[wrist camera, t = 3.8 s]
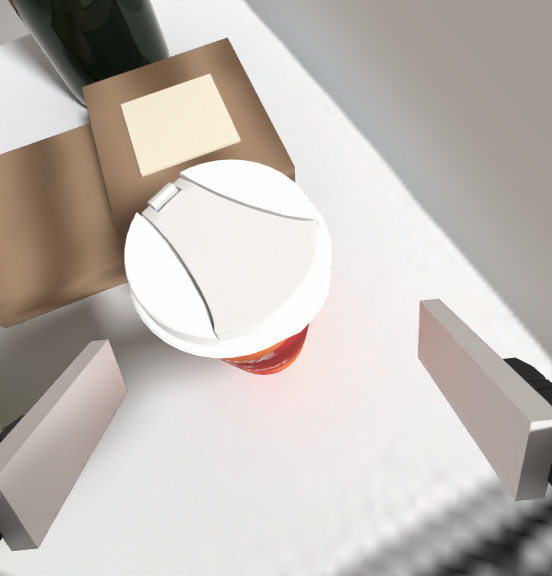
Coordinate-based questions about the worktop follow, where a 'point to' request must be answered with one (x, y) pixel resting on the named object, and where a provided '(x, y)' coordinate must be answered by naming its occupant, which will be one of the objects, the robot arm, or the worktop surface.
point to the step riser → (120, 173)
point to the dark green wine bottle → (94, 37)
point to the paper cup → (230, 264)
